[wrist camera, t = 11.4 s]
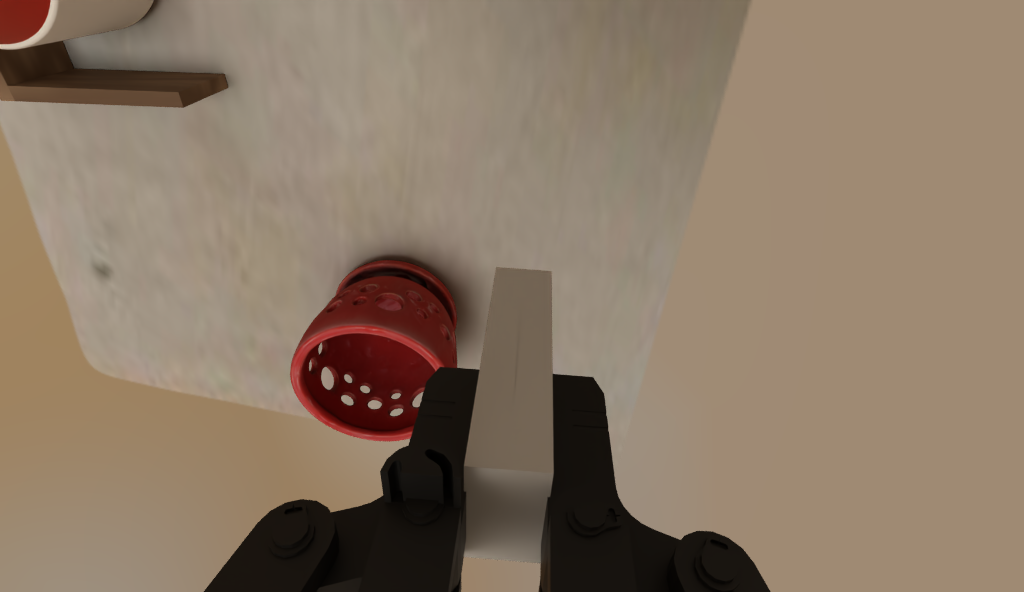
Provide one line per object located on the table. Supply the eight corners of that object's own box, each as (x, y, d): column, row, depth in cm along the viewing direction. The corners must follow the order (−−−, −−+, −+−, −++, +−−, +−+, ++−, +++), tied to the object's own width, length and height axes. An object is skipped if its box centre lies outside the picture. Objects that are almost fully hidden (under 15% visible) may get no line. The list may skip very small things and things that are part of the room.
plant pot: (359, 359, 56) (318, 449, 46) (320, 252, 49) (261, 330, 39) (479, 353, 54) (463, 444, 44) (457, 241, 47) (432, 320, 37)
